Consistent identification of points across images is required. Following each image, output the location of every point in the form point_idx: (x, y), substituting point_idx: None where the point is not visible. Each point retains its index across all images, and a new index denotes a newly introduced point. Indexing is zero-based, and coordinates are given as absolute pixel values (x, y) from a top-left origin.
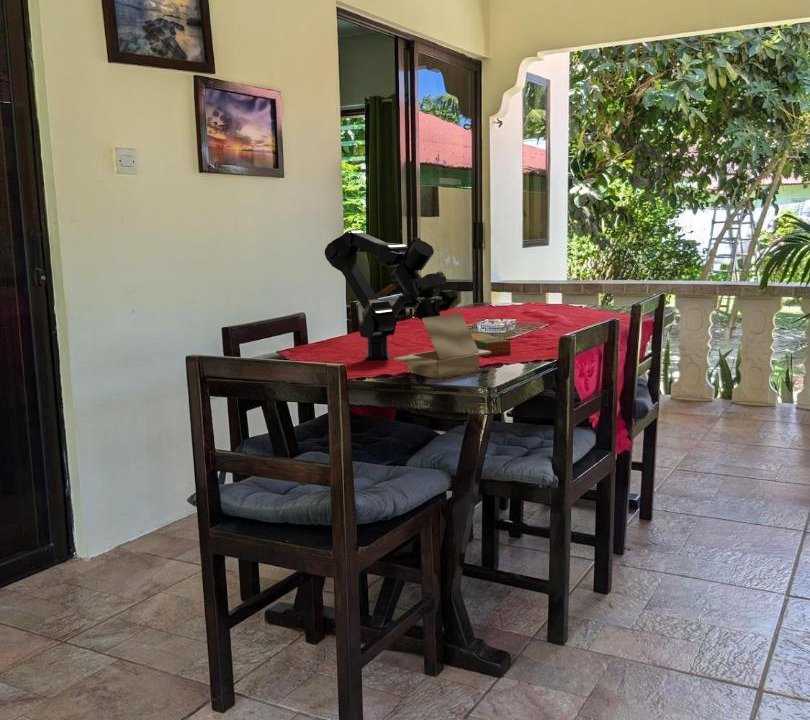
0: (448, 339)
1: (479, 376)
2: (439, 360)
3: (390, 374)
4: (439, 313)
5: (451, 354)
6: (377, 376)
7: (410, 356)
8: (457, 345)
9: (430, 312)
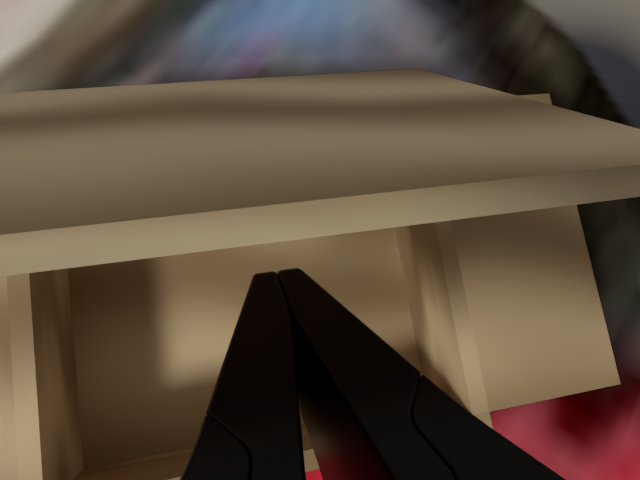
0: (304, 99)
1: (152, 53)
2: (163, 460)
3: (547, 413)
4: (209, 440)
5: (314, 76)
6: (627, 405)
7: (501, 358)
8: (215, 95)
9: (473, 437)
